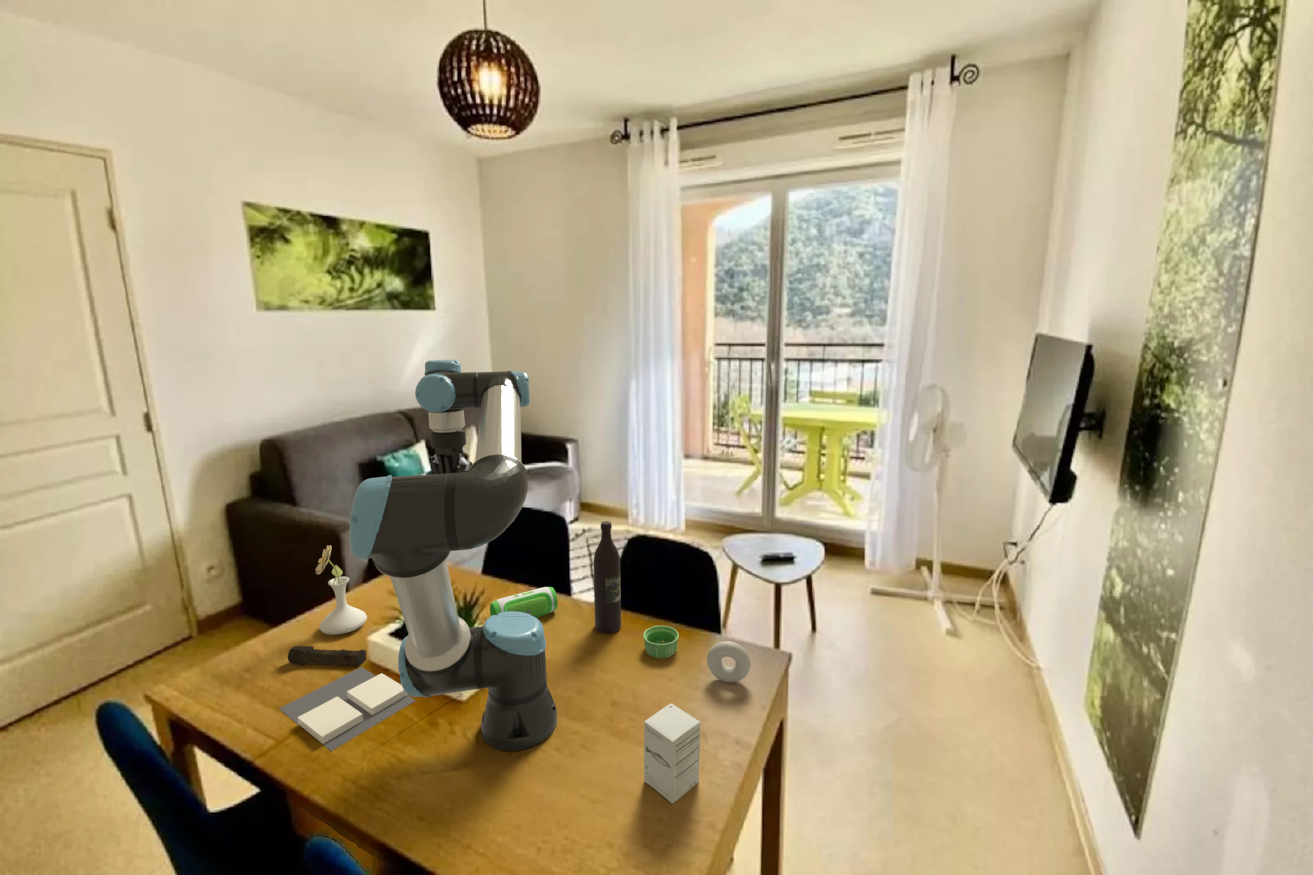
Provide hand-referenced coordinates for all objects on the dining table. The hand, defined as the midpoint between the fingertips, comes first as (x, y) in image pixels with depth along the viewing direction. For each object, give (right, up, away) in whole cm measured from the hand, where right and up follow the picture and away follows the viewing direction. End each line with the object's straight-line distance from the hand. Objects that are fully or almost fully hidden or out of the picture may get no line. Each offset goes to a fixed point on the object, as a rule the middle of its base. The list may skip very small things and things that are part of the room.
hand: (455, 528), depth 132 cm
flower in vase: (-38, -31, +22) cm, 54 cm away
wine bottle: (+34, -31, +22) cm, 51 cm away
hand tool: (-34, -35, +5) cm, 48 cm away
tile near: (-24, -36, -13) cm, 45 cm away
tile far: (-19, -35, -5) cm, 40 cm away
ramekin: (+48, -33, +12) cm, 60 cm away
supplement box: (+50, -41, -30) cm, 71 cm away
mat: (-20, -37, -10) cm, 43 cm away
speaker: (+10, -30, +27) cm, 42 cm away
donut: (+63, -35, -1) cm, 73 cm away
